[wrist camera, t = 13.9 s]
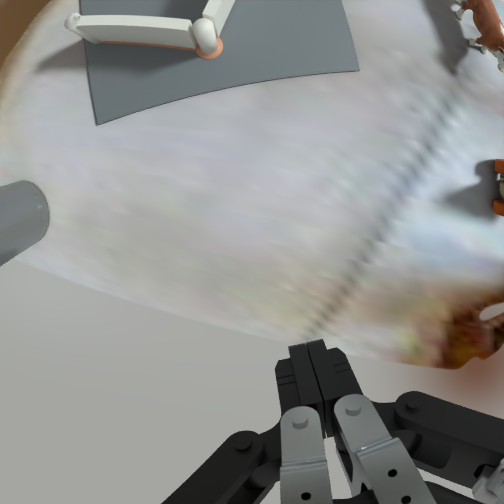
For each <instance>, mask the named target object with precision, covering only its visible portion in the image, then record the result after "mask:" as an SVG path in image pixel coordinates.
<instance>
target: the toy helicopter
mask: <svg viewBox="0 0 504 504" xmlns="http://www.w3.org/2000/svg"><path fill="white" fill-rule="evenodd" d="M495 171H496V172H498V173H500V180H501V181H500V194H501V195H502V196H503V197H504V160H503V159H496V160H495ZM493 212H494V213H496V214H498V215H501V216H504V199H496V200H494V202H493Z"/></svg>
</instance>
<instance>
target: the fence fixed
mask: <svg viewBox="0 0 504 504" xmlns="http://www.w3.org/2000/svg"><path fill="white" fill-rule="evenodd" d="M64 25H65V28H67V29H68V30H70V31H72V32H74V33H75V34H77V35H79V36H81V37H83V38H84V39H86V40H88V41H90V42H91V43H93V44H99V43H101V42H102V41H117V42H136V43H149V44H160V45H169V46H177V47H185V48H192V49H196V47H197V43H198V44H199V47H200V49H201V51H202V52H203V53H204V54H213V53H215V52H216V50H217V48H218V44H217V39H216V35H215V30H214V26H213V23H212V21H211V20H209V19H206V18H201V19H198V20H196V21H195V22H194V23H193V26H192V23H191V21H190V20H187V19H178V18H167V17H154V16H135V15H87V16H81V15H80V14H78V13H73V14H71V15H69V16H68V17H67V19H66V20H65V24H64Z"/></svg>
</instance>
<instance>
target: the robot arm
mask: <svg viewBox="0 0 504 504" xmlns="http://www.w3.org/2000/svg"><path fill="white" fill-rule="evenodd" d="M48 225H49V209H48V204H47V201H46V198H45V196H44V195H43V193H42V191H41V190H40V189H39V188H38V187H37V186H36V185H35V184H33V183H31V182H29V181H18V182H15V183H11V184H8V185H5V186H1V187H0V266H2V265H3V264H4V263H6V262H8V261H9V260H10V259H12V258H14V257H15V256H17V255H18V254H20V253H21V252H23V251H24V250H26V249H27V248H29V247H30V246H32V245H34V244H35V243H37V242H38V241H40V240H41V239H42V238H43V237H44V235H45V233H46V231H47V228H48ZM288 348H289V354H290V358H288V359H283V360H279V361H278V363H277V365H276V367H275V373H276V380H277V386H278V393H279V400H280V405H281V418H280V420H279V422H278V423H277V425H275V426H274V427H273V428H272V429H270V430H268V431H266V432H263V433H261V434H257V433H256V432H253V431H239V432H237V433H234V434H233V435H231V436H230V437H229V438H227V440H226V441H225V442H224V443H223V444H222V445H221V446H220V447H219V448H218V449H217V450H216V451H215V452H214V453H213V454H212V455H211V456H210V457H209V458H208V459H207V460H206V461H205V462H204V463H203V465H201V466H200V467H199V468H198V469H197V470H196V471H195V472H194V473H193V474H192V475H191V476H190V477H189V478H188V479H187V480H186V481H185V482H184V483H183V484H182V485H181V486H180V487H179V488H178V489H177V490H176V491H174V492H173V493H172V494H171V495H170V496H169V497H168V498H167V499H166V500H165V501H164V502H163V503H161V504H260V502H261V501H262V500H263V499H264V498H265V496H266V495H267V494H268V493H269V491H270V490H271V489H272V488H273V486H274V484H275V482H277V481H280V494H281V504H504V419H500V418H497V417H494V416H491V415H487V414H484V413H481V412H477V411H475V410H472V409H469V408H466V407H463V406H460V405H457V404H454V403H450V402H447V401H445V400H442V399H439V398H436V397H433V396H430V395H428V394H425V393H422V392H418V391H410V392H406V393H404V394H402V395H401V396H399V397H398V399H397V400H396V402H392V403H377V402H373V401H371V400H369V398H367V397H366V396H364V395H363V393H362V391H361V388H360V386H359V384H358V382H357V380H356V377H355V375H354V373H353V371H352V369H351V366H350V364H349V363H348V360H347V357H346V355H345V353H343V352H342V351H341V350H340V349H338V348H337V347H336V348H332V349H328V350H327V349H326V346H325V343H324V341H323V339H320V340H316V341H311V342H307V343H306V345H305V343H302V344H298V345H293V346H289V347H288ZM325 431H326V434H327V438H329V437H333V436H334V440H335V443H336V453H337V455H338V458H339V460H340V463H341V466H342V468H343V471H344V473H345V476H346V478H347V481H348V483H349V486H350V490H351V495H352V498H349V499H332V493H331V485H330V479H329V471H328V466H327V460H326V456H325V449H324V439H325V438H326V435H325ZM416 467H417V468H419V469H422V470H424V471H427V472H429V473H431V474H434V475H436V476H439V477H441V478H444V479H446V480H449V481H452V482H454V483H457V484H460V485H462V486H465V487H468V488H471V489H472V493H473V496H474V498H475V500H474V499H471V498H469V497H467V496H464V495H462V494H459V493H457V492H455V491H452V490H450V489H448V488H445V487H443V486H441V485H438V484H436V483H433V482H429V481H424V480H423V478H422V476H421V475H420V473H419V471H418V469H417V468H416Z"/></svg>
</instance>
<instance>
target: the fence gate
mask: <svg viewBox="0 0 504 504" xmlns="http://www.w3.org/2000/svg"><path fill="white" fill-rule="evenodd" d="M234 2H235V0H209V1H208V3H207V5H206V7H205V9H204V11H203V13H202V15H203V18H206V19H209V20H211V21H212V23H213V26H214V30H215V35H216V37H219V35H220V33H221V30H222V28H223V26H224V24H225V21H226V19H227V17H228V15H229V13H230V11H231V9H232V6H233V4H234Z"/></svg>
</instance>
